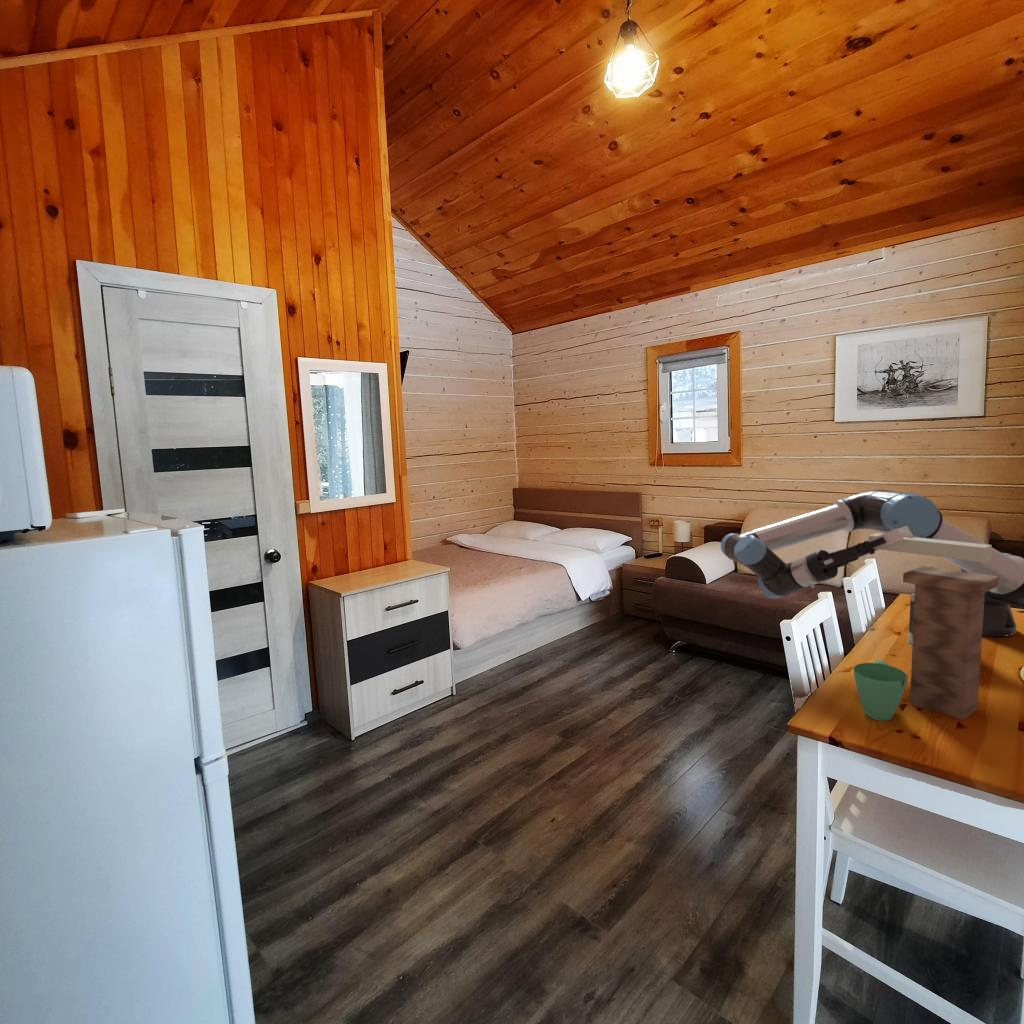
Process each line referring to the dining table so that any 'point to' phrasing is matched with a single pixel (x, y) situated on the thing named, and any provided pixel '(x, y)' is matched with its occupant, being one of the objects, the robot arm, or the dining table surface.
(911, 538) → the stick
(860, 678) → the mug
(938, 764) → the dining table surface
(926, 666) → the pedestal
